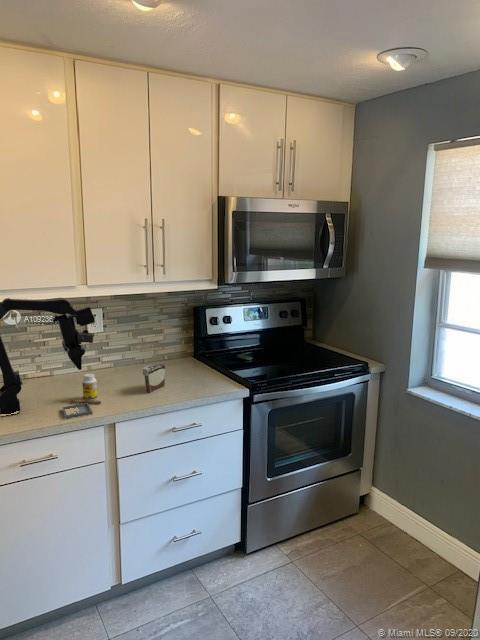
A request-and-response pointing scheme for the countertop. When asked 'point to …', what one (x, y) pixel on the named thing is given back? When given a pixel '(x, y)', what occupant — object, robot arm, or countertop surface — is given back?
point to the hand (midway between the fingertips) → (78, 366)
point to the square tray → (83, 410)
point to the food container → (154, 377)
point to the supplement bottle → (89, 387)
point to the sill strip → (85, 401)
